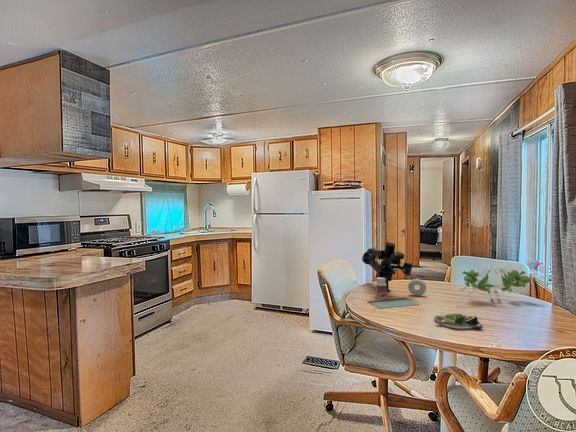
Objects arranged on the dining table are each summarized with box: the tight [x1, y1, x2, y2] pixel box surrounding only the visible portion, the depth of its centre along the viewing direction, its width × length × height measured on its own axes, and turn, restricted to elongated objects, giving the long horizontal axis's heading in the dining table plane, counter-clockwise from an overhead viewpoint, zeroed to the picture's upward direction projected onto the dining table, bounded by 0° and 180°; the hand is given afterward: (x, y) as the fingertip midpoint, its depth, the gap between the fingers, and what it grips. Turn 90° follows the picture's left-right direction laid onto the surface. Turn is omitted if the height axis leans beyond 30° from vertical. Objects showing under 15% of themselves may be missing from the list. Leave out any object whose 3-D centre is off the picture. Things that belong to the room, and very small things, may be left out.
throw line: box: [367, 297, 408, 304], centre depth 183 cm, size 2×24×1 cm, turn 105°
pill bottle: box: [375, 277, 388, 300], centre depth 189 cm, size 6×6×11 cm
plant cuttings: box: [458, 268, 532, 303], centre depth 180 cm, size 35×17×22 cm
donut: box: [407, 278, 427, 297], centre depth 192 cm, size 10×4×10 cm, turn 70°
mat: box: [369, 298, 420, 310], centre depth 176 cm, size 10×24×1 cm, turn 105°
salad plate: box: [433, 313, 484, 331], centre depth 145 cm, size 19×18×5 cm
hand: (402, 274), depth 180 cm, fingers open, 9 cm apart
